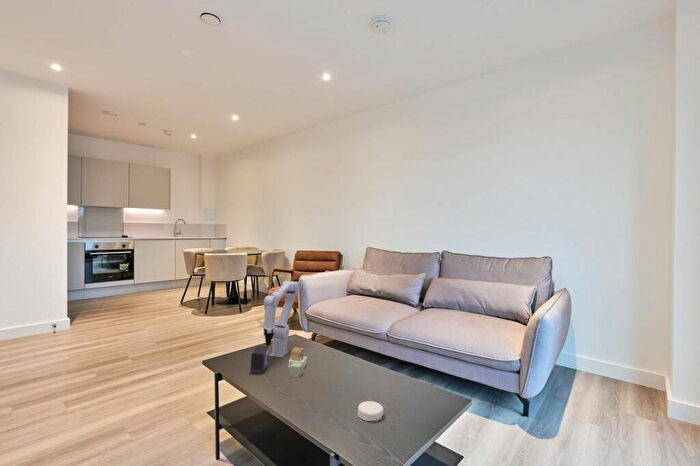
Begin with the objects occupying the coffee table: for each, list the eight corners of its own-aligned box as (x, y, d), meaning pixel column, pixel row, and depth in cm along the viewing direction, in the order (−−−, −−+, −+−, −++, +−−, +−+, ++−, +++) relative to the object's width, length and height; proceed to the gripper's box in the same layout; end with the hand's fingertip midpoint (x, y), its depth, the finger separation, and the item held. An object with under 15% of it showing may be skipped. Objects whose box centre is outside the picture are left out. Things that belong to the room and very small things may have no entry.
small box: (262, 374, 164) (263, 353, 164) (249, 373, 164) (250, 352, 164) (268, 365, 174) (269, 346, 174) (256, 365, 174) (257, 345, 174)
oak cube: (294, 356, 179) (295, 347, 179) (303, 357, 178) (303, 348, 178) (291, 360, 174) (291, 350, 174) (300, 361, 173) (300, 351, 173)
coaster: (367, 406, 137) (368, 398, 137) (387, 415, 131) (388, 406, 131) (352, 416, 129) (353, 407, 129) (373, 426, 123) (373, 416, 123)
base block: (292, 362, 180) (292, 355, 180) (306, 363, 179) (306, 356, 179) (288, 368, 172) (288, 361, 172) (303, 369, 171) (303, 362, 171)
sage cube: (293, 372, 168) (293, 362, 168) (302, 373, 167) (303, 363, 167) (289, 376, 163) (289, 366, 163) (299, 377, 162) (299, 367, 162)
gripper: (277, 320, 173) (276, 347, 172) (276, 315, 187) (274, 340, 186) (264, 320, 172) (262, 347, 171) (264, 315, 186) (262, 340, 185)
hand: (267, 343), depth 178 cm, fingers open, 7 cm apart
